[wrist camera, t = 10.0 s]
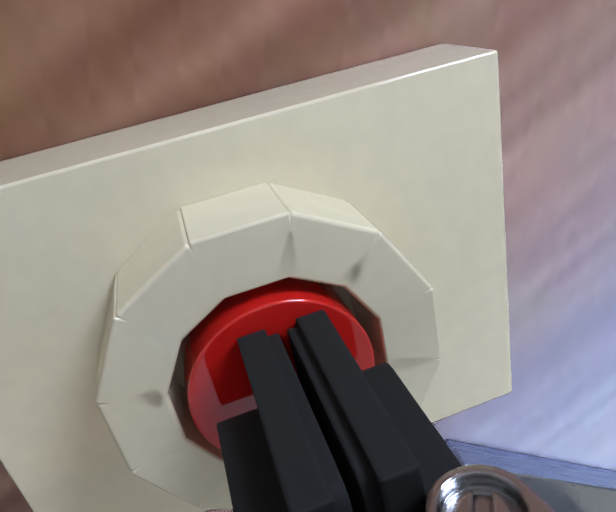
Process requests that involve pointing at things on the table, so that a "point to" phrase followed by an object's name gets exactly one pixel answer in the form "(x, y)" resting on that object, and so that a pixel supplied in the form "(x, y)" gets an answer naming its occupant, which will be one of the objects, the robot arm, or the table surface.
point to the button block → (245, 264)
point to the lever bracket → (549, 477)
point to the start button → (245, 320)
